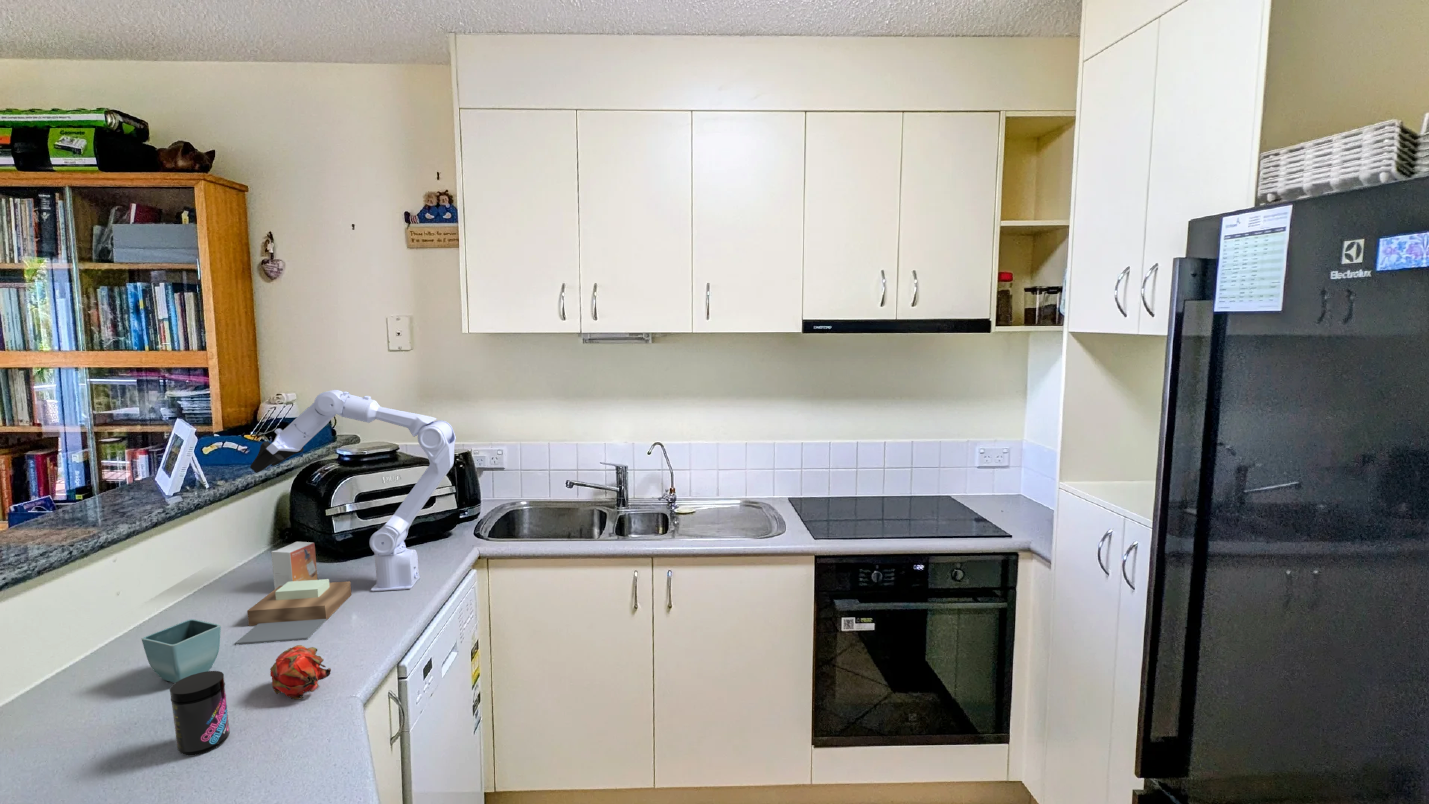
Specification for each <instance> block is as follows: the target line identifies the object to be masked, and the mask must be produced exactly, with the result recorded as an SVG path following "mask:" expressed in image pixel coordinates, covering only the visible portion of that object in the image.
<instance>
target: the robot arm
mask: <svg viewBox="0 0 1429 804" xmlns="http://www.w3.org/2000/svg"><path fill="white" fill-rule="evenodd" d="M337 415H338V416H340V417H341V418H345V419H350V420H355V421H359V422H363V423H368V424H369V423H373V422H374V421H375V420H377V421H381V422H383V423H389V424H392V425H396V426H398V427H399V426H400V427H403V428H407V430H408V431H409V432H410V434H411V435H412V437H414V438H415V437H416V436H417V442H418V444H419V446H420V448H421V449H422V450H423V451H424V452H425V454H426V456H427V458H428V460H429V465H428V467H427V468H426V470H425V471H424V472H423V473H422V475H421V476H420V478H419V479H418V480H417V482H416V483H415V485H414V486H413V488H411V490H410V492H409V493H408V494H407V495H406V496H405V498H404V499H403V501H402V502H401V504H400V505H399V506H398V508H397V509H396V510H395V512H394V513H393V515H392V516H391V517H390V518H389V519H388V520H387V522H385V523H384V524H383V526H381V527H380V529H378V530H377V531H375V532H374V533H373V534H372V535H370V538H369V547H370V549H371V550H372V552H373V553H374V554H373V555H374V565H375V579H376V583H375V584H374V586H372V587H371V589H370V592H382V591H383V592H384V591H398V590H411V589H412V588H413V586H414V585H416V583H417V581H418V580H419V579H420V577H421V575H420V573H419V561H418V560H419V557H418V552H417V550H416V549H412V548H411V549H410V548H407V546H406V542H405V540H406V539H407V536H408V533H409V529H410V527H411V525H412V524H413V522H414V520H415V518H416V517H417V516H418V514H419V513H420V512H421V510H422V509H423V508H424V506H425V505H426V503H427V502H428V501H429V499H430V498H431V496H432V495H433V493H434V492H435V491H436V490H437V488H438V487H439V486H440V484H441V483H442V482H443V480H444V479H445V477H446V476H447V474H449V472H450V470H451V469H452V468H453V466H454V462H455V444H456V440H457V437H456V434H455V431H454V428H453V426H452V425H451V424H450V423H449V422H448V421H446V420H442V419H439V420H438V419H437V418H436V417H433V416H430V415H426V414H421V413H420V414H419V413H414V412H410V411H404V410H398V409H394V408H389V407H384V406H381V405H380V404H379V403H378V401H377V400H375V399H372V396H371V395H365V396H363V397H362V396H358V395H353V394H350V392H348V391H342V390H340V389H331V390H327V391H323V392H321V393H319V394H318V395H316V397H315V399H314V402H313V403H312V404H311V405H310V406H308V407H307V408H306V409H305V410H304V411H302V413H300V414H299V415H298V416H297V417H296V418H295V419H293V421H292V422H291V423H289V424H288V425H287V426H286V427H285V428H284V429H282V428H276V429H274V433H275V434H276V435H275V438H274V440H273V441H272V442H271V443H270V441H268V440H266V441H263V442H262V443H261V444H260V445H259V451H258V453H257V455H256V457H255V459H254V460H253V461H252V463H251V464H250V467H249V468H250V469H251V470H252V471H254V473H256V474H258V473H260V472H262V471H263V470H265V469H267V468H268V467H269V466H272V467H276V466H277V465H278V464H280V463H282V462H284V461H285V460H287V459H288V458H290V457H292V456H294V455H297V454H300V453H303V452H304V450H305V449H304V446H305V445H306V444H307V443H308V442H310V441H311V440H312V439H313V438H314V437H315V436H316V435H317V434H318V433H319V432H320V431H322V430H323V428H325V426H327V425H328V424H329V422H331V420H332V419H333V418H334V417H336V416H337Z"/></svg>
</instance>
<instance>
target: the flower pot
mask: <svg viewBox="0 0 1429 804" xmlns="http://www.w3.org/2000/svg"><path fill="white" fill-rule="evenodd" d="M221 629H222V624H219V623H214V622H210V621H209V622H208V621H203V620H200V619H193V618H190V619H187V620H184V621H181V622H179V623H177V624H175V625H172V626H169V627H167V628H165V629H162V630H159V631H157V632H156V631H155V632H154V633H151V634H149V635H146V636H144V637H142V638H141V642H142V645H143V648H144V649H143V650H144V652H145V655H146V659H147V662H148V664H149V666H150V668H151V669H152V670H153V671H154V672H155V674H156V675H157V676H158V677H160V678H161V679H162V680H164V681H167V682H170V683H171V682H172V683H173V684H175V683H176V682H177V681H179V680H181V679H183V678H185V677H188V676H190V675H193V674H197V673H201V672H206V671H211V668H212V667H213V666H214V664H215V662H216V660H217V657H218V655H219V651H220V646H221V644H220V643H221V631H222V630H221Z"/></svg>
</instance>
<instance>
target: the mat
mask: <svg viewBox="0 0 1429 804" xmlns="http://www.w3.org/2000/svg"><path fill="white" fill-rule="evenodd" d="M326 621H327V620H326V619H316V620H302V621H287V622H273V623H259V624H257V625H255V626H253V627H252V628H251V629H250V630H249V631H247V632H246V633H245V634H243V636H242V637H240V638H239V639H238V640H237V641H236V642H235V643H234V645H235V646H237V645H236V644H239V645H246V644H247V645H250V644H253V645H254V644H263V643H264V642H267V643H274V641H280V642H293V641H292V640H294V641H303V640H306V639H307V640H309V639H308V638H311V637H312V636H313V635H314V634H315V633H316V632H317V631H318V629H320V627H322V626H323V624H324V623H326ZM313 633H314V634H313ZM311 635H312V636H311ZM310 636H311V637H310ZM307 640H306V641H307ZM264 644H265V643H264Z"/></svg>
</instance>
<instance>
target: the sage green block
mask: <svg viewBox="0 0 1429 804" xmlns="http://www.w3.org/2000/svg"><path fill="white" fill-rule="evenodd" d="M329 583H330V579H329V578H326V579H325V578H324V579H323V578H322V579H318V580H307V581H291V582H287V583H286V584H285V585H283V586H282V587H281V588H280V589H278V590H277V591H276V592H275V595H276V600H288V599H303V598H318V597H319V596H320V595H322V594H323V593H324V592H325V591H326V590H327V589H328V588H329V587H330V586H329Z"/></svg>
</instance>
